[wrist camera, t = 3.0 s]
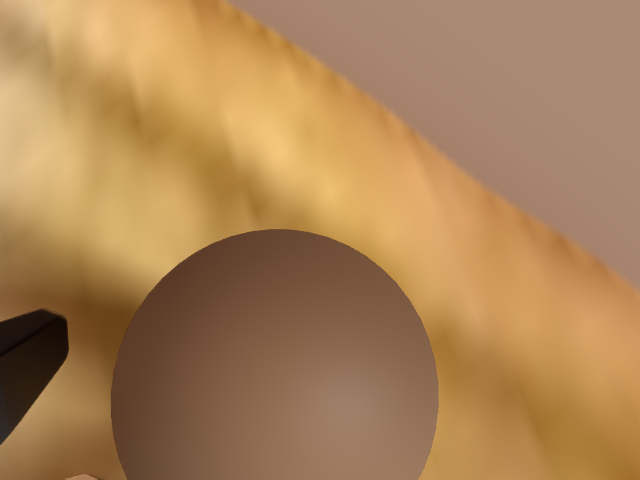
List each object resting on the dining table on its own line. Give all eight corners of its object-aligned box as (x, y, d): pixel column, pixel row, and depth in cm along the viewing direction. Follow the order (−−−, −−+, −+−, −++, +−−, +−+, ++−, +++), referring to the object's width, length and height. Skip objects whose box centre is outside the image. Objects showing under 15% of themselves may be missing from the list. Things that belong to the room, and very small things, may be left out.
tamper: (391, 509, 17) (440, 805, 5) (234, 443, 17) (-69, 545, 5) (444, 345, 18) (597, 235, 6) (294, 290, 19) (152, 95, 7)
